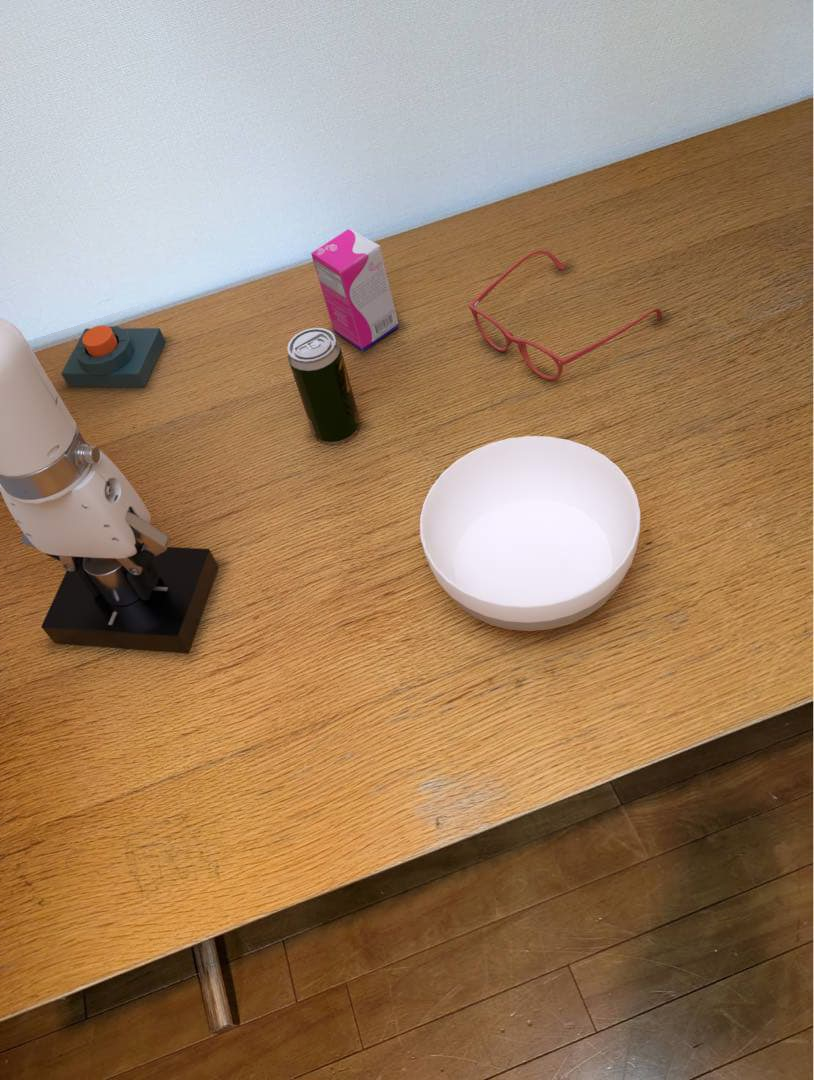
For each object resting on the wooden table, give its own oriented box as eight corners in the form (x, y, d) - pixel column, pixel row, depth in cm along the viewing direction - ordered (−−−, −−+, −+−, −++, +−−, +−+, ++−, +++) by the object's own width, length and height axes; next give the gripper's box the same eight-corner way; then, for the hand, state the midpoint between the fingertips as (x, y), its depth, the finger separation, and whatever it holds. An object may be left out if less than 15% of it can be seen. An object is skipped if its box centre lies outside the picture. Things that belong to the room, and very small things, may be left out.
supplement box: (369, 306, 119) (350, 225, 110) (400, 327, 116) (383, 245, 107) (331, 331, 117) (309, 251, 108) (362, 353, 114) (341, 272, 105)
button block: (67, 388, 119) (53, 363, 116) (92, 341, 123) (79, 316, 120) (143, 389, 116) (131, 363, 113) (165, 341, 121) (154, 316, 118)
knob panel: (54, 643, 95) (39, 625, 93) (91, 560, 101) (78, 541, 99) (188, 653, 92) (177, 635, 90) (218, 566, 98) (209, 547, 96)
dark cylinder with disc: (97, 604, 94) (73, 572, 89) (113, 567, 96) (91, 533, 92) (139, 607, 93) (117, 574, 88) (154, 569, 95) (134, 535, 91)
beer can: (324, 454, 105) (296, 370, 96) (305, 424, 109) (277, 340, 99) (369, 433, 106) (346, 348, 97) (349, 404, 109) (325, 319, 100)
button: (83, 357, 116) (77, 346, 115) (94, 336, 118) (88, 325, 117) (111, 357, 115) (105, 345, 114) (122, 336, 117) (116, 325, 116)
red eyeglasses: (458, 334, 114) (453, 299, 110) (556, 263, 119) (554, 228, 115) (570, 403, 104) (569, 367, 100) (671, 323, 109) (673, 287, 105)
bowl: (483, 476, 100) (475, 415, 93) (666, 527, 92) (671, 465, 86) (397, 622, 91) (380, 567, 84) (593, 693, 83) (592, 638, 76)
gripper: (151, 425, 80) (219, 558, 95) (-31, 422, 84) (61, 550, 98) (119, 496, 76) (196, 625, 90) (-71, 489, 80) (31, 613, 94)
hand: (124, 585), depth 94 cm, fingers closed on dark cylinder with disc, 4 cm apart
